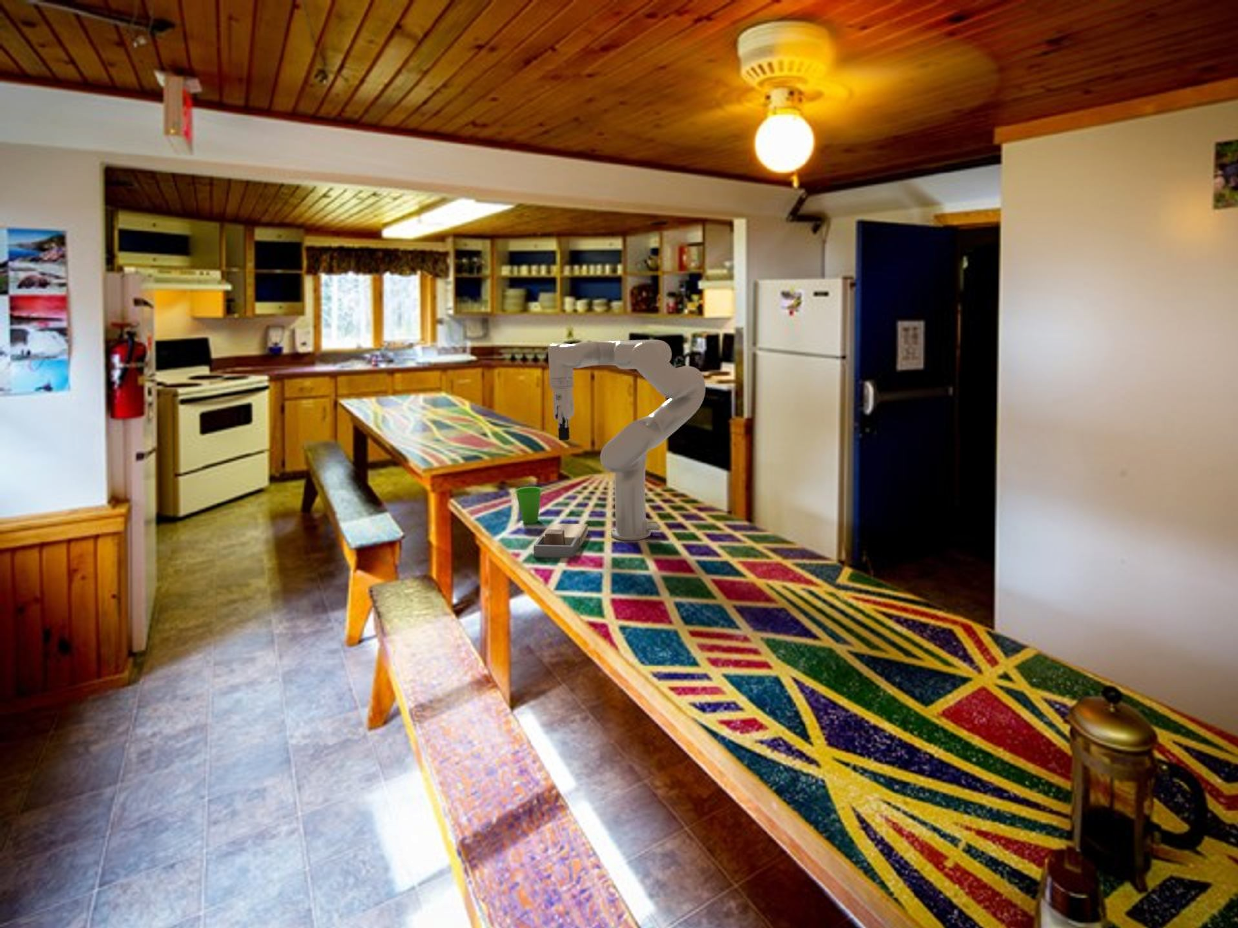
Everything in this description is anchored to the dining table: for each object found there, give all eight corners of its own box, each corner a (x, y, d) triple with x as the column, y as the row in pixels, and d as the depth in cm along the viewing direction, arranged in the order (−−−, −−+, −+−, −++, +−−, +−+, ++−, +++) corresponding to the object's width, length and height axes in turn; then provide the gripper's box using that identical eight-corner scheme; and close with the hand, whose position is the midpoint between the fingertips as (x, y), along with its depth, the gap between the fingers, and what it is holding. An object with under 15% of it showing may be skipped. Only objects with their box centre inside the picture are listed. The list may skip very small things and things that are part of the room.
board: (587, 533, 230) (587, 524, 229) (580, 546, 218) (579, 537, 217) (551, 532, 232) (550, 523, 231) (541, 545, 219) (540, 536, 219)
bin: (579, 547, 217) (578, 536, 217) (573, 557, 208) (572, 546, 208) (541, 546, 219) (541, 535, 218) (534, 556, 210) (533, 545, 209)
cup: (532, 526, 238) (530, 494, 236) (511, 523, 243) (509, 491, 240) (548, 519, 246) (547, 488, 243) (528, 516, 250) (526, 485, 248)
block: (564, 529, 216) (561, 533, 212) (564, 545, 217) (561, 549, 214) (548, 529, 217) (544, 533, 213) (548, 544, 218) (545, 549, 214)
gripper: (568, 385, 220) (570, 444, 224) (577, 380, 235) (580, 435, 239) (544, 385, 221) (547, 444, 225) (555, 380, 236) (558, 435, 240)
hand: (564, 439), depth 232 cm, fingers closed
